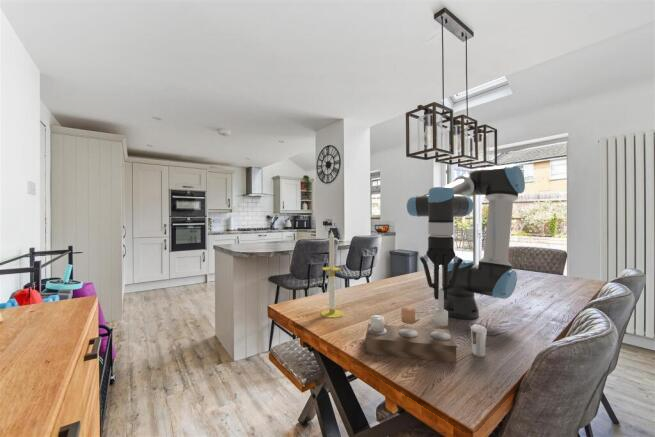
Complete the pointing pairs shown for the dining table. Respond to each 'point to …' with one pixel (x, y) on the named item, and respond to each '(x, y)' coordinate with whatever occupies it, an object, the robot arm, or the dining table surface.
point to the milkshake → (478, 339)
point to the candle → (331, 282)
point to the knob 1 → (377, 323)
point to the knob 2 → (440, 317)
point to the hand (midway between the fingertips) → (440, 309)
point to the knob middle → (408, 315)
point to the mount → (411, 343)
